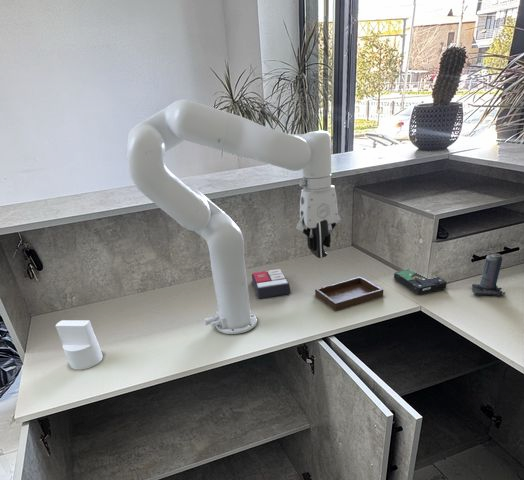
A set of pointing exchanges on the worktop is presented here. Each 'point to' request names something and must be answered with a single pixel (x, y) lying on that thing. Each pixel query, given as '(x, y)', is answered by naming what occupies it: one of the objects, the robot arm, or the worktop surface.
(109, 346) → the worktop surface
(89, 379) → the worktop surface
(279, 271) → the calculator
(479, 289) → the grey cylinder on base
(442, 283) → the disk drive
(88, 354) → the cylinder with rectangular tab
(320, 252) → the battery charger
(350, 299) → the tray
